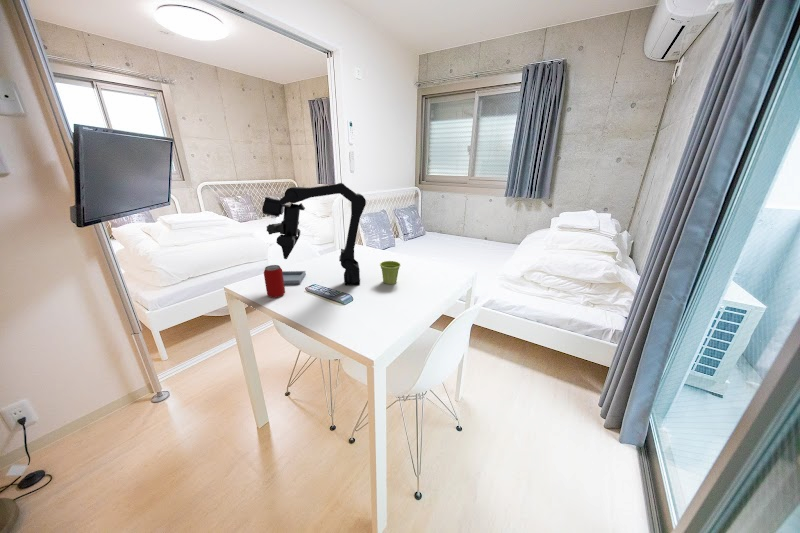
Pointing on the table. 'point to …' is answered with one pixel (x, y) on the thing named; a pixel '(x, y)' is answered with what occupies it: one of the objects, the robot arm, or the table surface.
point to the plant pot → (390, 271)
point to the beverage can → (274, 281)
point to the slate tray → (293, 277)
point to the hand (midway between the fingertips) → (287, 255)
